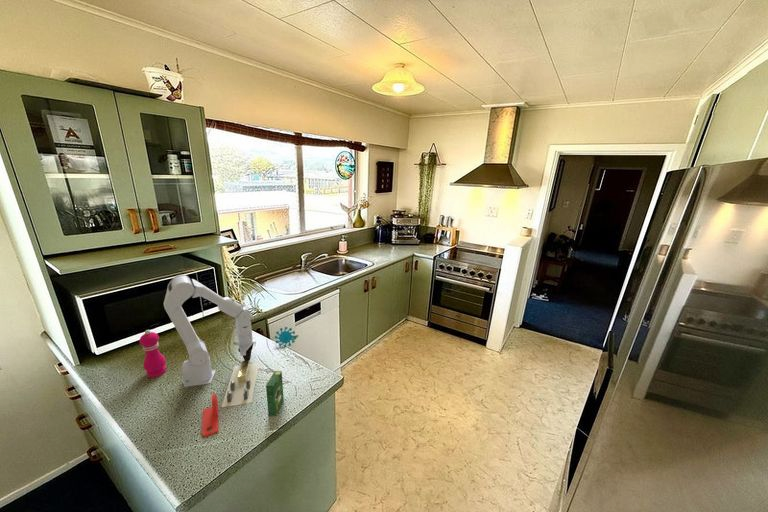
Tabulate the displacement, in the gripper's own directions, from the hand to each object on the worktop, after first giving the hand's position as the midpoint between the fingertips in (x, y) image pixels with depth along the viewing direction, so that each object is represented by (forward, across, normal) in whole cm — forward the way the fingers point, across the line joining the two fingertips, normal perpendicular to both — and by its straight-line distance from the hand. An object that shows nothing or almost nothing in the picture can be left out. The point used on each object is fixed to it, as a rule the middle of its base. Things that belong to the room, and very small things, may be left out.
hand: (247, 359), depth 128 cm
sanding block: (+1, -8, 0) cm, 8 cm away
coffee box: (+2, -29, -14) cm, 32 cm away
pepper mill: (+2, +1, +35) cm, 35 cm away
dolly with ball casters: (+1, -19, 0) cm, 19 cm away
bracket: (+2, -30, +7) cm, 31 cm away
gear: (+2, +11, -16) cm, 20 cm away
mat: (+1, -14, 0) cm, 14 cm away
